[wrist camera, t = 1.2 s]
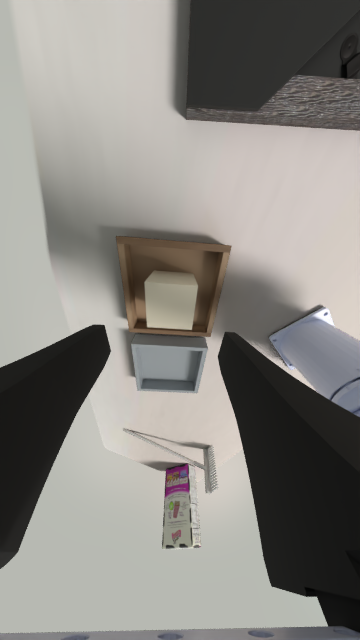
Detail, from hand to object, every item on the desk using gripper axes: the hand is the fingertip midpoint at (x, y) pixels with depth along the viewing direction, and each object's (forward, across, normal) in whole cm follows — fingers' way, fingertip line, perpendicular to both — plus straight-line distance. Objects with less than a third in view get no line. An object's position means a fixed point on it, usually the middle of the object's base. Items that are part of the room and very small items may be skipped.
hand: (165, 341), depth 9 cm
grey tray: (+10, 0, +13) cm, 16 cm away
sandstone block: (+10, 0, 0) cm, 10 cm away
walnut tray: (+10, 0, 0) cm, 10 cm away
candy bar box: (+11, -6, +71) cm, 72 cm away
